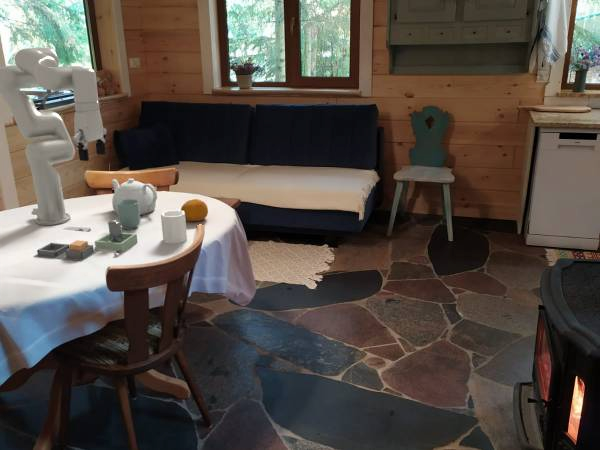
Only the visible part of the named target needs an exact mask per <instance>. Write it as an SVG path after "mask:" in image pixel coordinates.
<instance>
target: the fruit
mask: <svg viewBox="0 0 600 450" xmlns="http://www.w3.org/2000/svg"><path fill="white" fill-rule="evenodd" d="M180 210H181V211H184V212H185V219H186V222H187V221H188V222H200V221H202V220H204V219H206V218H207V216H208V213H209V209H208V205H207V203H205V201H203V200H201V199H198V198H197V199H196V198H194V199H193V198H192V199H190V200H189V199H188V200H187V201H186V202H184V204H182V206H181V207H180Z"/></svg>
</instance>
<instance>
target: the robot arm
mask: <svg viewBox="0 0 600 450" xmlns="http://www.w3.org/2000/svg"><path fill="white" fill-rule="evenodd" d="M14 63H15V64H14V65H13V64H12V65H7V66H2V67H0V96H1V97H2V99H3V100H4V101H5V103H6V104H7V106H8V108H9V109H10V111H11V114H12V116H13V118H14V120H15V123H16V125H17V127H18V129H19V132H20V134H21V135H22V137H23V138H25V139H27V140H34V141H31V142H30V143H29V144H27V146H26V147H25V156H26V159H27V161H28V164H29V167H30V172H31V175H32V180H33V182H32V183H33V187H34V192H35V193H34V194H35V198H36V204H37V208H34V207H33V209H32V210H31V215H35V216H36V217H35V223H36V224H37V225H41V226H53V225H54V226H55V225H60V224H63V223H66V222H68V221H70V220H71V214H69V213H66V209H65V208H66V207H65V200H64V194H63V188H62V182H61V176H60V173H59V172H58V171H57V170H56V169H55V167H54V166H53V165H54V164H55V165H56V164H61V163H66V162H69V161H71V160H73V159H74V158H75V154H76V150H75V147H76V149H77V150H78V157H79V161H81V162H82V161H83V162H89V161H90V158H89V149H88V144H89V143H91V142H95V141H96V142H95V149H96V154H97V155H103V156H105V155H107V154H106V138H107V132H108V131H107V128H106V127H104V126H103V125H104V124H103V120H102V114H101V111H100V102H99V95H98V83H97V75H96V72H95V70H94V69H93V68H88V67H82V66H78V65H74V66H69V65H68V66H67V65H66V66H59V65H60V61H59V56H58V55H57V53H56V52H55V51H54V50H53V49H52V48H48V47H38V48H37V47H33V48H32V47H31V48H30V47H29V48H28V47H27V48H21V49H20V50H19V51H17V52H16V53H15V55H14ZM41 87H42V88H43V89H46V90H48V91H52V92H58V91H59V92H60V91H61V92H62V91H71V90H72V92H73V102H74V111H75V112H74V115H73V116H74V118H73V119H74V120H73V124H74V125H73V126H74V136H73V137H72V138H71V137H70V134H69V131H68V130H67V129H68V128H67V126H66V124H65V122H64V121H63V119H62V117H61V115H59V114H58V113H57V112H55V111H49V110H48V111H39V110H38V109H37V107H36V105H35V103H34V100H33V99H32V98H31V97H29V96H28V95H27V94H26V93H25V92H24V91H22V90H21V89H33V88H41ZM49 137H50V138H49ZM43 138H45V139H43ZM36 139H39V140H36ZM72 140H73V141H72ZM73 142H74V143H73ZM74 145H75V146H74Z"/></svg>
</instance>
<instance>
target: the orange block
mask: <svg viewBox="0 0 600 450" xmlns="http://www.w3.org/2000/svg"><path fill="white" fill-rule="evenodd" d="M68 245H69V247H70V250H75V251H82V250H84V249H86V248H87V247H88V245H89V241H87V240H80V239H78V240H75V241H73V242H72V243H70V244H68Z"/></svg>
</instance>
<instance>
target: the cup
mask: <svg viewBox="0 0 600 450" xmlns="http://www.w3.org/2000/svg"><path fill="white" fill-rule="evenodd" d="M117 210H118V214H117V215H118V221H120V222H121V228H124V229H125V230H133V229H136V228H137V227H138V226H139V225H140V223H141V215H140V207H139V201H138V200H134V199H126V200H121V201H119V202H118V203H117Z"/></svg>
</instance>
